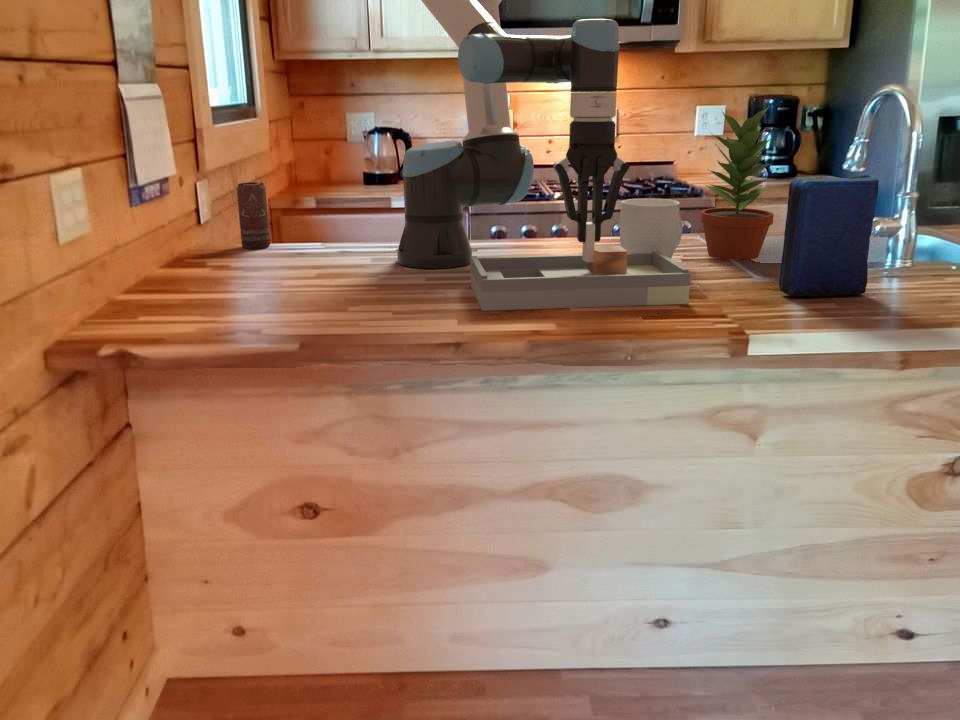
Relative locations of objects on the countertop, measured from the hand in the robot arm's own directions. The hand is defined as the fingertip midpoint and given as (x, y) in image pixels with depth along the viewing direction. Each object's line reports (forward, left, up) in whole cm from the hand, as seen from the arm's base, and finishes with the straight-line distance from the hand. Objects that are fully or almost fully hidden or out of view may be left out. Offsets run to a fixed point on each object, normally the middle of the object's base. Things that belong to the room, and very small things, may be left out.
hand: (588, 260), depth 148 cm
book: (+37, +13, -5) cm, 40 cm away
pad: (+11, +3, -5) cm, 12 cm away
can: (-80, +4, -5) cm, 81 cm away
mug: (+5, +21, -5) cm, 22 cm away
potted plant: (+16, +42, -5) cm, 45 cm away
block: (+3, +2, -2) cm, 4 cm away
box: (-1, -5, -5) cm, 7 cm away
